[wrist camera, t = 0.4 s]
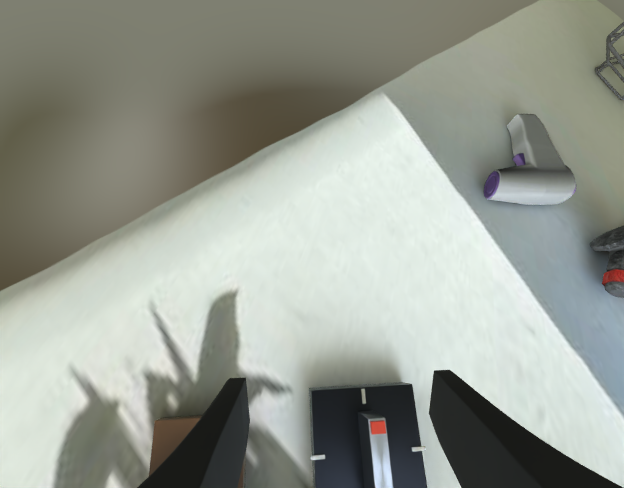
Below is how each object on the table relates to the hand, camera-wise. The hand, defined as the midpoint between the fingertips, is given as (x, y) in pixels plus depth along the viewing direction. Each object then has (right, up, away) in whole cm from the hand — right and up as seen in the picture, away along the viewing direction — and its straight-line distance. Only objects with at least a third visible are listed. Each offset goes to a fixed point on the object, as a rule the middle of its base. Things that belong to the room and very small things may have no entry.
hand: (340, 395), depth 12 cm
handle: (+5, -15, +20) cm, 25 cm away
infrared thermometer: (+29, +18, +37) cm, 51 cm away
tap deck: (+4, -17, +22) cm, 28 cm away
